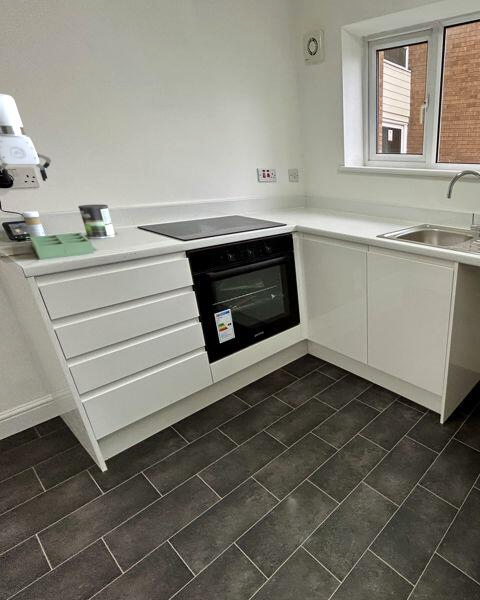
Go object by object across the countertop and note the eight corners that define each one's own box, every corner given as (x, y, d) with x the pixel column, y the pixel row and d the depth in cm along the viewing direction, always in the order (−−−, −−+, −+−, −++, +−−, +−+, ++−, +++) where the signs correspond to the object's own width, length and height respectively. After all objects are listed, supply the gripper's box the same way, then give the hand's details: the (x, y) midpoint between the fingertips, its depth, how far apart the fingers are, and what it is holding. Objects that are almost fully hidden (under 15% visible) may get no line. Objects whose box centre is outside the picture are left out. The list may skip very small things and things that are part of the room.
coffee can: (95, 239, 157) (86, 207, 152) (82, 237, 161) (73, 205, 156) (120, 236, 166) (112, 205, 161) (107, 233, 170) (99, 203, 165)
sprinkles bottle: (38, 243, 147) (26, 211, 142) (51, 243, 148) (40, 211, 144) (30, 246, 143) (18, 212, 138) (43, 245, 144) (32, 212, 139)
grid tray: (39, 259, 126) (35, 247, 124) (33, 248, 140) (29, 237, 138) (94, 252, 137) (91, 241, 135) (83, 243, 151) (80, 232, 149)
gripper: (-26, 129, 120) (-6, 181, 127) (43, 133, 132) (58, 181, 138) (-25, 130, 125) (-6, 180, 131) (42, 134, 137) (56, 180, 143)
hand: (27, 180), depth 135 cm, fingers open, 9 cm apart
